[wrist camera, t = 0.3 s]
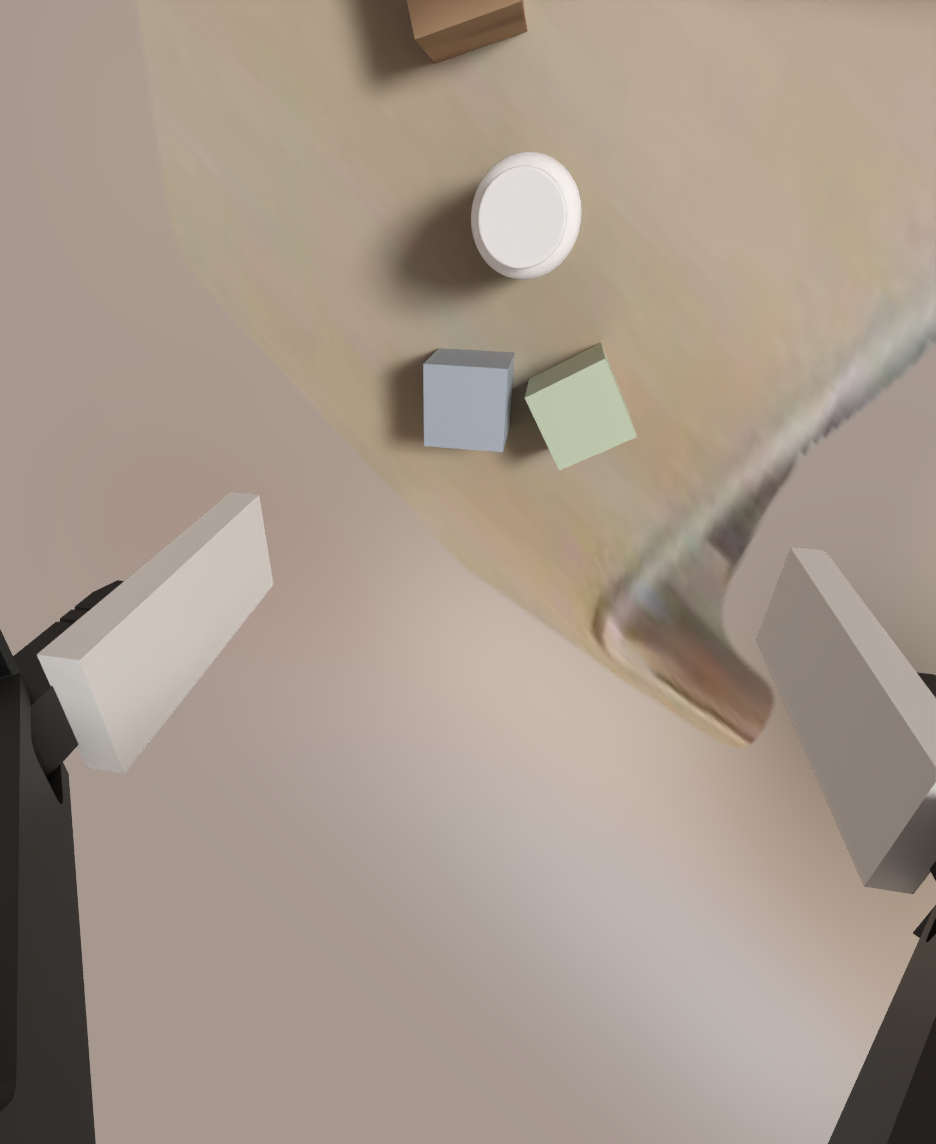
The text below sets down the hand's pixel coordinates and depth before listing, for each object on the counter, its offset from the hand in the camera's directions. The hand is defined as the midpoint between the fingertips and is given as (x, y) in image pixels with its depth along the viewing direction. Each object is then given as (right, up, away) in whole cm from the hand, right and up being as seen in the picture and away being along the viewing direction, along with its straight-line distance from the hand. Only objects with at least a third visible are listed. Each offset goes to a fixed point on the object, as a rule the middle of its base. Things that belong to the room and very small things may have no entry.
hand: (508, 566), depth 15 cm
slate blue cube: (-1, +12, +25) cm, 28 cm away
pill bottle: (+3, +21, +20) cm, 29 cm away
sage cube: (+6, +12, +24) cm, 28 cm away
